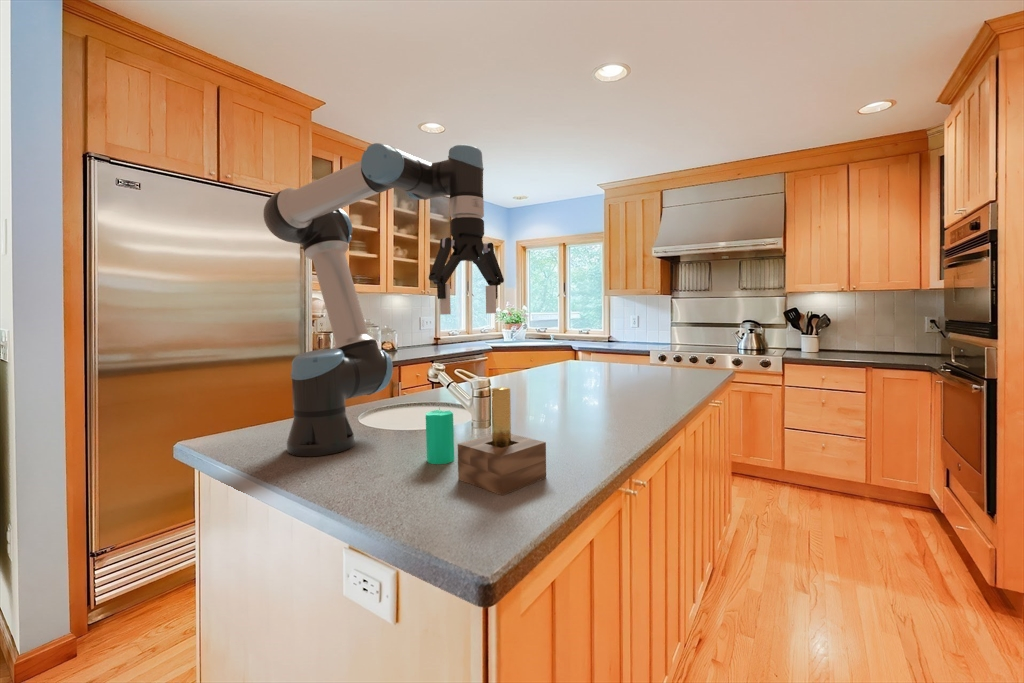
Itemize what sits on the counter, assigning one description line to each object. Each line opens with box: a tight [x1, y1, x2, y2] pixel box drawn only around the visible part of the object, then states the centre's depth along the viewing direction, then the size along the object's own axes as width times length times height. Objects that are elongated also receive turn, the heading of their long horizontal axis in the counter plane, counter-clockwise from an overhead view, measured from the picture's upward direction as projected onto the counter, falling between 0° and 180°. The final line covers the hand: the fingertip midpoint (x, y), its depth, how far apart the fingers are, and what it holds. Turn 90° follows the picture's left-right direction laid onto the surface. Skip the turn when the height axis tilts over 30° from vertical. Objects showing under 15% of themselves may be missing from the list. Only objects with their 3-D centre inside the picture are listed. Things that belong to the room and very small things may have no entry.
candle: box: [425, 405, 455, 465], centre depth 106 cm, size 6×6×12 cm
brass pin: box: [491, 386, 512, 448], centre depth 93 cm, size 4×4×14 cm
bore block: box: [457, 433, 547, 496], centre depth 93 cm, size 12×12×7 cm
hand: (469, 314), depth 110 cm, fingers open, 13 cm apart
